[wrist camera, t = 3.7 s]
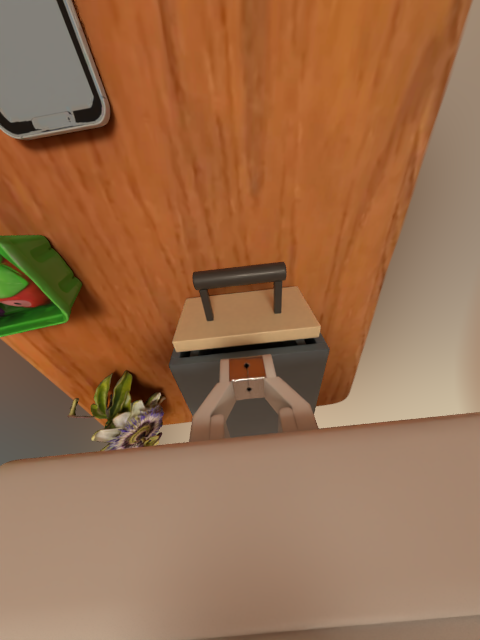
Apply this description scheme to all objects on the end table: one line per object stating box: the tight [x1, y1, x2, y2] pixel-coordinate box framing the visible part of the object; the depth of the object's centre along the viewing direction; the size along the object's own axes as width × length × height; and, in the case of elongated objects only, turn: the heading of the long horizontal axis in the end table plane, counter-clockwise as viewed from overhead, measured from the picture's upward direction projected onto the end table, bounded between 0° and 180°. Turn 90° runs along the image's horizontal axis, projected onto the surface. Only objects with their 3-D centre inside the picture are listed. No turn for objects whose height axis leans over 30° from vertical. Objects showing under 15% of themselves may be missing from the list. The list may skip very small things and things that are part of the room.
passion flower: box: [68, 371, 166, 451], centre depth 30 cm, size 11×11×12 cm
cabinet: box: [169, 333, 330, 438], centre depth 24 cm, size 15×13×9 cm
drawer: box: [172, 262, 321, 357], centre depth 21 cm, size 18×12×7 cm, turn 6°
